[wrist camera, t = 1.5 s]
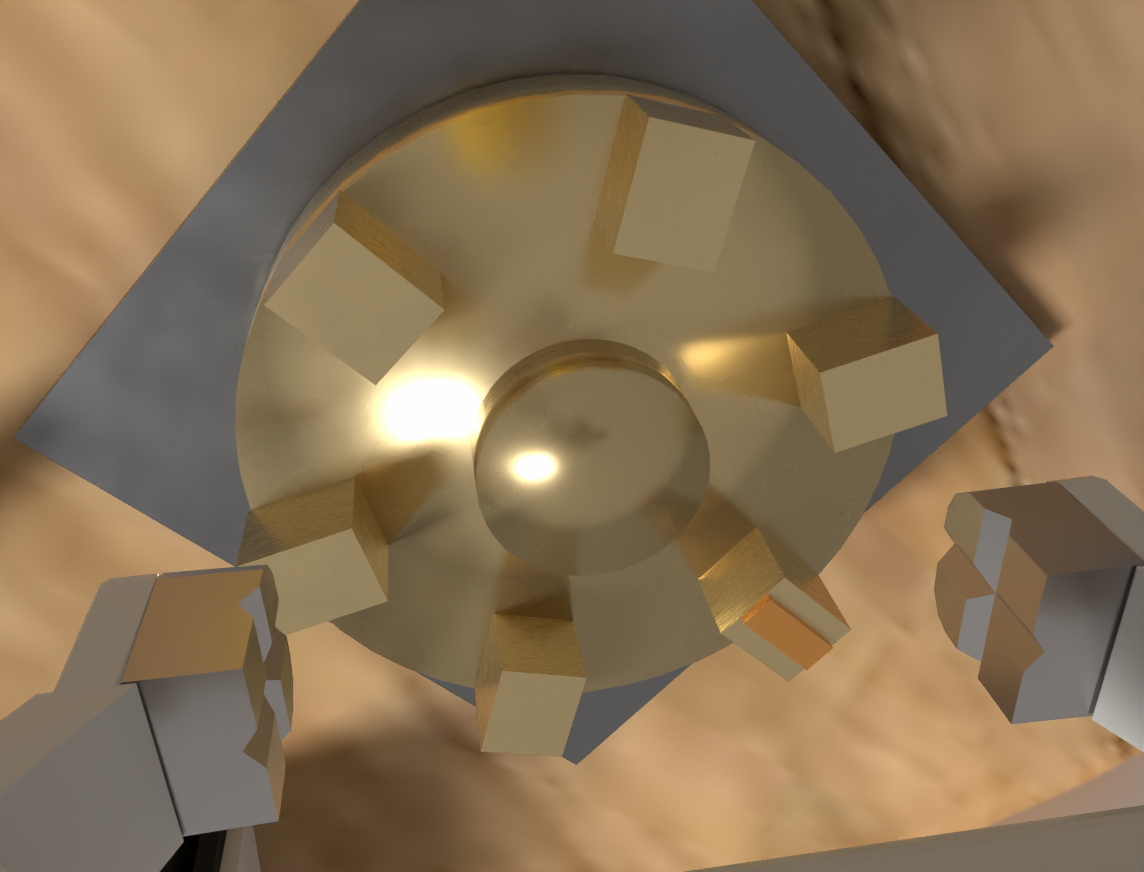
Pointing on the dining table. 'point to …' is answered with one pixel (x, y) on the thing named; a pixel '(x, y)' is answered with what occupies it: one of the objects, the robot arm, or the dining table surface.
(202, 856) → the grey and black block
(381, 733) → the dining table surface
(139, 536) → the dining table surface
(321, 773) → the dining table surface
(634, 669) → the gold radial fin assembly
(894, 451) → the base plate
